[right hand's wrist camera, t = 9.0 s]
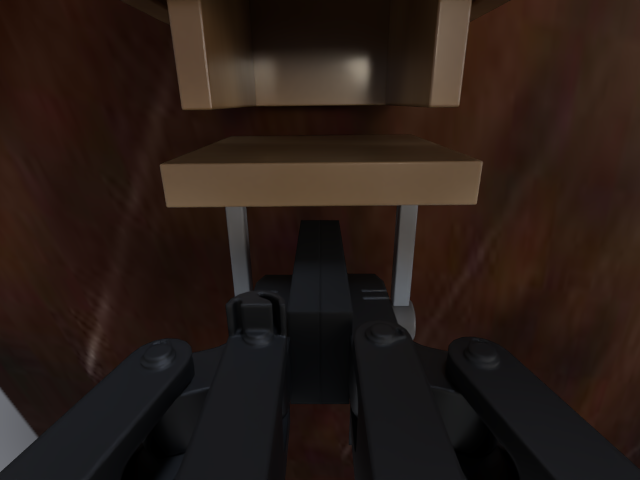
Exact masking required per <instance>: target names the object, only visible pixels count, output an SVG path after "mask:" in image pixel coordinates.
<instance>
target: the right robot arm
mask: <svg viewBox="0 0 640 480" xmlns="http://www.w3.org/2000/svg"><path fill="white" fill-rule="evenodd" d="M226 313H227V322H228V331H229V338H228V340H227V343H226V344H223V345H221V346H219V347H216V348H212V349H208V350H204V351H199V352H194V353H192V349H191V346H190V345H189V344H188V343H187V342H186V341H183V340H180V339H168V338H166V339H161V340H156V341H153V342H150V343H148V344H146V345H143V346H141V347H140V348H138V349H137V350H136V351H134V352H133V353H131V354H130V355H129V356H128V357H127V358H126V359H125V360H124V361H123V362H122V363H120V364H119V365H118V366H117V367H116V368H115V369H114V370H113V371H112V372H110V373H109V374H108V375H107V376H106V377H105V378H104V379H103V380H102V381H101V382H99V383H98V384H97V385H96V386H95V387H94V388H93V389H92V390H91V391H89V392H88V393H87V394H86V395H85V396H84V397H83V398H82V399H81V400H80V401H78V402H77V403H76V404H75V405H74V406H73V407H72V408H71V409H70V410H68V411H67V412H66V413H65V414H64V415H63V416H62V417H61V418H60V419H59V420H57V421H56V422H55V423H54V424H53V425H52V426H51V427H50V428H49V429H47V430H46V431H45V432H44V433H43V434H42V435H41V436H40V437H39V438H38V439H36V440H35V441H34V442H33V443H32V444H31V445H30V446H29V447H28V448H27V449H25V450H24V451H23V452H22V453H21V454H20V455H19V456H18V457H17V458H15V459H14V460H13V461H12V462H11V463H10V464H9V465H8V466H7V467H5V468H4V469H3V470H2V471H1V472H0V480H285V474H286V463H287V452H288V440H289V429H290V406H289V405H290V401H291V404H349V399H350V404H351V406H350V430H349V445H352V451H353V462H354V473H355V480H640V469H639V468H638V467H637V466H635V465H634V464H633V463H632V462H631V461H630V460H629V459H628V458H627V457H625V456H624V455H623V454H622V453H621V452H620V451H619V450H618V449H617V448H615V447H614V446H613V445H612V444H611V443H610V442H609V441H608V440H606V439H605V438H604V437H603V436H602V435H601V434H600V433H599V432H598V431H596V430H595V429H594V428H593V427H592V426H591V425H590V424H589V423H588V422H586V421H585V420H584V419H583V418H582V417H581V416H580V415H579V414H578V413H576V412H575V411H574V410H573V409H572V408H571V407H570V406H569V405H568V404H566V403H565V402H564V401H563V400H562V399H561V398H560V397H559V396H557V395H556V394H555V393H554V392H553V391H552V390H551V389H550V388H549V387H547V386H546V385H545V384H544V383H543V382H542V381H541V380H540V379H539V378H537V377H536V376H535V375H534V374H533V373H532V372H531V371H530V370H529V369H527V368H526V367H525V366H524V365H523V364H522V363H521V362H520V361H518V360H517V359H516V358H515V357H514V356H513V355H512V354H511V353H510V352H508V351H507V350H506V349H504V348H503V347H501V346H500V345H498V344H496V343H494V342H491V341H489V340H487V339H482V338H477V337H462V338H459V339H456V340H454V341H453V342H452V343H451V344H450V345H449V349H448V351H443V350H439V349H434V348H430V347H426V346H423V345H420V344H418V343H416V342H413V340H412V337H411V335H410V334H409V332H408V331H407V329H405V328H404V327H402V326H401V325H399V324H398V322H397V319H396V316H395V313H394V310H393V308H392V305H391V302H390V300H389V296H388V293H387V290H386V287H385V284H384V282H383V281H382V280H381V279H380V278H379V277H378V276H376V275H375V274H347V270H346V264H345V257H344V251H343V244H342V238H341V232H340V225H339V220H301V224H300V231H299V237H298V244H297V250H296V257H295V263H294V270H293V275H265V276H264V277H263V278H261V279H260V280H259V281H258V282H257V283H256V286H255V289H254V291H248V292H245V293H242V294H239V295H237V296H235V297H233V298H232V299H230V300H229V302H228V303H227V304H226Z"/></svg>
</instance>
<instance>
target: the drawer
mask: <svg viewBox="0 0 640 480" xmlns="http://www.w3.org/2000/svg"><path fill="white" fill-rule="evenodd" d="M471 5H472V0H167V6H168V13H169V20H170V27H171V34H172V41H173V49H174V56H175V63H176V70H177V77H178V84H179V92H180V99H181V106H182V109H183V110H215V109H228V108H241V107H253V106H331V105H397V106H414V107H458V106H459V104H460V96H461V88H462V79H463V71H464V63H465V54H466V46H467V38H468V30H469V21H470V13H471ZM482 165H483V161H481V160H478V159H475V158H473V157H470V156H467V155H465V154H462V153H459V152H457V151H454V150H451V149H449V148H446V147H443V146H441V145H438V144H435V143H433V142H430V141H427V140H424V139H422V138H419V137H416V136H414V135H314V136H231V137H228V138H226V139H223V140H221V141H218V142H216V143H213V144H211V145H208V146H205V147H203V148H200V149H198V150H195V151H193V152H190V153H188V154H185V155H182V156H180V157H177V158H175V159H172V160H170V161H167V162H165V163H162V164H160V170H161V176H162V182H163V188H164V194H165V200H166V206H167V207H225V209H226V218H227V227H228V236H229V245H230V255H231V264H232V273H233V282H234V292H235V296H237V295H239V294H242V293H245V292H248V291H253V282H252V271H251V259H250V248H249V236H248V225H247V213H246V207H271V206H384V205H397V212H396V227H395V241H394V256H393V270H392V285H391V299H389V300H390V302H391V305H392V308H393V310H394V313H395V316H396V319H397V322H398V324H399V325H401V326H402V327H404V328H405V329H407V331H408V332H409V334H410V335H411V337H412V340H413V339H414V336H415V331H416V319H415V311H414V307H413V304H412V302H411V301H410V300H409V299H410V288H411V277H412V266H413V255H414V244H415V233H416V222H417V211H418V205H475V204H476V203H477V198H478V191H479V185H480V178H481V172H482Z"/></svg>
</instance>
